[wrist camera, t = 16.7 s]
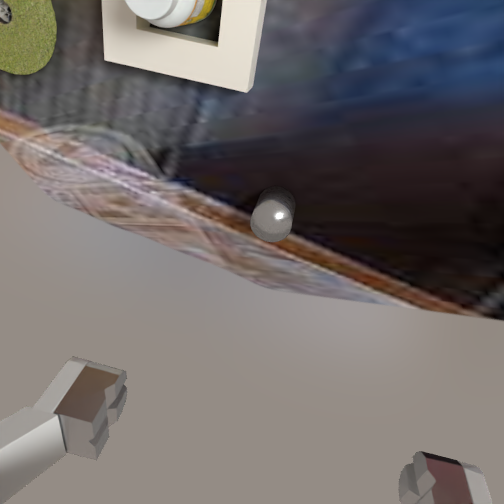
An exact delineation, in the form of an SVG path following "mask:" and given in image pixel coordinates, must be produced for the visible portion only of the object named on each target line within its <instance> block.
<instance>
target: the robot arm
mask: <svg viewBox="0 0 504 504" xmlns="http://www.w3.org/2000/svg"><path fill="white" fill-rule="evenodd" d="M126 379H127V376H126V371H124V370H120V369H117V368H113V367H109V366H106V365H102V364H99V363H94V362H92V361H89V360H85V359H81V358H77V357H74V356H73V357H72V358H71V359H69V360H68V361H67V362H66V363H65V365H64V366H63V368H62V369H61V370H60V371H59V373H58V374H57V375H56V377H55V378H54V379H53V381H52V382H51V383H50V385H49V386H48V387H47V389H46V390H45V392H44V393H43V394H42V396H41V397H40V398H39V400H38V401H37V402H36V404H35V405H34V406H33V407H29V406H27V407H25V408H23V409H21V410H20V411H18V412H16V413H14V414H12V415H11V416H9V417H7V418H5V419H3V420H1V421H0V504H3V503H4V502H6V501H7V500H8V499H9V498H11V497H12V496H13V495H15V494H16V493H17V492H18V491H20V490H21V489H22V488H23V487H25V486H26V485H28V484H29V483H30V482H31V481H32V480H34V479H35V478H37V476H39V475H40V474H42V473H43V472H44V471H46V470H47V469H48V468H49V467H51V466H52V465H53V464H55V463H56V462H57V461H59V460H60V459H61V458H62V457H64V456H65V455H66V453H70V454H74V455H78V456H82V457H86V458H90V459H94V460H97V459H98V457H99V455H100V453H101V451H102V449H103V447H104V445H105V444H106V442H107V440H108V438H109V426H111V425H112V424H114V423H115V422H117V421H118V419H119V417H120V415H121V413H122V410H123V407H124V405H125V402H126V396H127V388H126V386H125V385H124V383H125V381H126ZM413 462H414V463H411V464H408V465H406V466H405V467H404V468H403V470H402V471H401V475H400V479H399V498H400V502H401V504H492V500H491V497H490V494H489V491H488V488H487V484H486V481H485V478H484V475H483V472H482V471H481V469H480V468H479V467H477V466H475V465H471V464H467V463H463V462H460V461H457V460H453V459H450V458H446V457H442V456H438V455H434V454H430V453H426V452H422V451H419V452H416V453H415V455H414V456H413Z"/></svg>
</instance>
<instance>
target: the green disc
mask: <svg viewBox="0 0 504 504" xmlns="http://www.w3.org/2000/svg"><path fill="white" fill-rule="evenodd" d="M56 27H57V25H56V20H55V13H54V10H53V7H52V3H51V0H0V69H1V70H3V71H6V72H9V73H13V74H20V75H23V74H24V75H25V74H31V73H34V72H36V71H38V70H40V69H41V68H43V67H44V66H45V65H46V64H47V62H48V61H49V59H50V58H51V57H52V54H53V51H54V47H55V42H56V32H57V30H56Z"/></svg>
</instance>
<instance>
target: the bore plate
mask: <svg viewBox="0 0 504 504" xmlns="http://www.w3.org/2000/svg"><path fill="white" fill-rule="evenodd" d="M266 2H267V0H223V4H222V13H221V23H220V32H219V41H218V42H216V41H211V40H207V39H202V38H198V37H193V36H189V35H184V34H180V33H175V32H171V31H166V30H162V29H157V28H153V27H150V22H148V21H147V20H146V19H144V18H141V17H139V16H138V15H136V14H135V13H134V12H133V11H132V10H131V9H130V8H129V7H128V5H127V4H126V2H125V0H102V17H103V39H104V60H106V61H110V62H115V63H119V64H124V65H128V66H132V67H137V68H141V69H145V70H150V71H154V72H158V73H163V74H167V75H172V76H176V77H180V78H185V79H189V80H193V81H198V82H202V83H207V84H211V85H215V86H220V87H224V88H228V89H233V90H237V91H242V92H246V93H247V92H248V91H249V90H250V89H251V88H252V87H253V82H254V76H255V70H256V64H257V58H258V51H259V45H260V39H261V33H262V27H263V21H264V15H265V8H266Z"/></svg>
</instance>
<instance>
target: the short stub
mask: <svg viewBox="0 0 504 504" xmlns="http://www.w3.org/2000/svg"><path fill="white" fill-rule="evenodd" d="M295 207H296V201H295V198H294V196H293V194H292V193H291V192H290V191H289V190H287V189H286V188H284V187H280V186H272V187H269V188H266V189H265V190H264V191H263V192H262V193H261V194H260V196H259V199H258V201H257V204H256V206H255V209H254V211H253V214H252V216H251V220H250V225H251V229H252V231H253V232H254V234H255V235H256V236H257V237H258V238H260V239H262V240H264V241H267V242H277V241H281V240H283V239H284V238H286V237H287V236H288V234H289V233H290V230H291V226H292V221H293V216H294V212H295Z"/></svg>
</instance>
